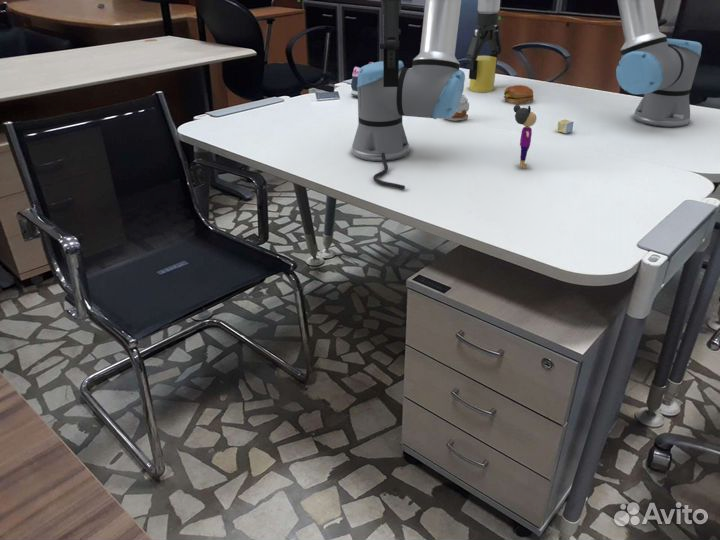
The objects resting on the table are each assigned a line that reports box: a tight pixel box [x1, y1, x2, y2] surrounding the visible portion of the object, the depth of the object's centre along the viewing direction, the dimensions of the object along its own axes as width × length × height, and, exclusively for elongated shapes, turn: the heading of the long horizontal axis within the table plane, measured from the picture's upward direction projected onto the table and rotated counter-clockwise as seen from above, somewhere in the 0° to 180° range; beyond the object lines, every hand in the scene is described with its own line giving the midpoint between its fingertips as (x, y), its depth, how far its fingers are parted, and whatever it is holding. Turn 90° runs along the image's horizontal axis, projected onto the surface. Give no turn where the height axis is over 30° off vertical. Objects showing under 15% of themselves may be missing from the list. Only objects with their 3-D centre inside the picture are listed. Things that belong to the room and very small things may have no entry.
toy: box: [512, 104, 537, 169], centre depth 139 cm, size 10×6×15 cm, turn 168°
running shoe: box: [350, 61, 374, 98], centre depth 209 cm, size 9×26×11 cm, turn 138°
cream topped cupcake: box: [447, 94, 470, 122], centre depth 176 cm, size 8×8×15 cm
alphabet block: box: [557, 119, 574, 134], centre depth 165 cm, size 3×3×3 cm
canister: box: [469, 55, 498, 93], centre depth 208 cm, size 9×9×11 cm
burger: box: [503, 84, 534, 105], centre depth 195 cm, size 10×9×5 cm
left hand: (390, 78), depth 109 cm, fingers open, 13 cm apart
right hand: (482, 75), depth 209 cm, fingers open, 12 cm apart
